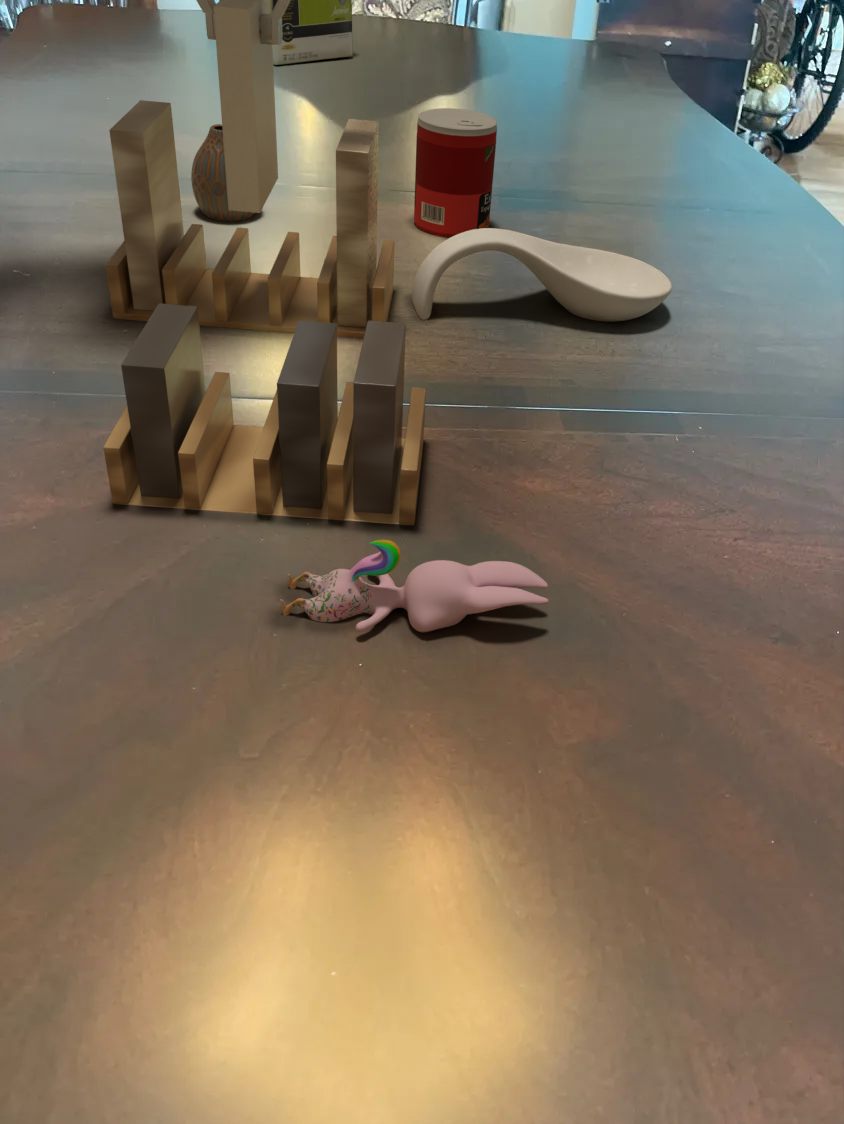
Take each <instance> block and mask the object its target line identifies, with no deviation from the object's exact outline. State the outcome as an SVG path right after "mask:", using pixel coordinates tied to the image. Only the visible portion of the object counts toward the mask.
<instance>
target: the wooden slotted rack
mask: <svg viewBox="0 0 844 1124" xmlns="http://www.w3.org/2000/svg"><path fill="white" fill-rule="evenodd" d="M173 121H174V120H173V112H172V103H171V102H165V101H155V100H141V99H140V100H139V101H138V102H137V103H136V104H135V105H133V107H131V109H129V110H128V111H127V112H126V113H125V114H124V115H123V116H122V117H121V118H120V119H119V120H118V121H117V122H116V123H115V124H114V125H113V126H112V127H110V129H109V130H108V131H109V138H110V146H111V154H112V159H113V166H114V167H113V168H114V175H115V182H116V189H117V197H118V204H119V210H120V218H121V226H122V232H123V233H122V234H123V237H124V238H123V241H122V243H121V244H120V246H119V247H118V248H117V250H115V252H114V253H113V255H112V256H111V257H110V258H109V260H108V261H107V263H106V264H105V265H104V266H105V272H106V279H107V284H108V293H109V298H110V305H111V312H112V318H113V319H115V320H117V319H118V320H129V321H138V322H139V321H142V322H148V320H149V319H150V317H151V316H152V314H153V312H154V311H155V309H156V307H157V306H158V304H159V303H160V304H172V305H185V306H197V307H198V317H199V326H202V327H203V326H204V327H214V328H215V327H216V328H229V329H241V330H252V331H253V330H255V331H267V332H276V333H277V332H278V333H279V332H280V333H291V334H294V333H295V330H296V327H297V324H298V322H299V321H310V322H322V323H335V324H337V337H341V338H354V339H364V335H365V331H366V326H367V322H368V321H382V322H388V320H389V313H390V310H391V309H390V308H391V305H392V299H393V293H394V282H395V281H394V279H395V275H394V274H395V243H396V242H395V240H392V239H391V240H390V239H383V241H382V245H381V249H380V254H379V257H378V261H377V256H378V255H377V254H378V252H377V251H378V195H379V194H378V192H379V191H378V190H379V186H378V185H379V135H380V134H379V130H380V129H379V126H380V125H379V124H380V123H379V121H378V120H369V119H366V120H365V119H356V118H348V119H347V122H346V124H345V126H344V129H343V132H342V135H341V137H340V139H339V141H338V144H337V146H336V149H335V202H336V203H335V206H336V207H335V209H336V212H335V213H336V217H335V218H336V235H332V237H331V240H330V243H329V246H328V249H327V252H326V256H325V258H324V261H323V265H322V267H321V270H320V273H319V276H318V277H306V276H301V249H300V248H301V247H300V232H296V231H287V233H286V235H285V238H284V240H283V241H282V244H281V247H280V249H279V251H278V254H277V256H276V258H275V260H274V262H273V265H272V267H271V270H270V272H269V273H259V272H252V267H251V266H252V265H251V254H250V253H251V252H250V251H251V250H250V249H251V248H250V236H249V233H250V232H249V228H248V227H236V229H235V231H234V233H233V234H232V237H231V238H230V240H229V242H228V243H227V246H226V247H225V249H224V251H223V252H222V254H221V256H220V259H219V260H218V262H217V264H215V267H214V269H212V268H211V269H210V268H207V254H206V245H205V233H204V226H203V224H197V223H192V224H191V225H190V226H189V228H188V229H187V230H186V232H185V231H184V221H183V220H184V219H183V211H182V210H183V209H182V200H181V192H180V190H181V189H180V181H179V171H178V160H177V152H176V140H175V130H174V122H173Z"/></svg>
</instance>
